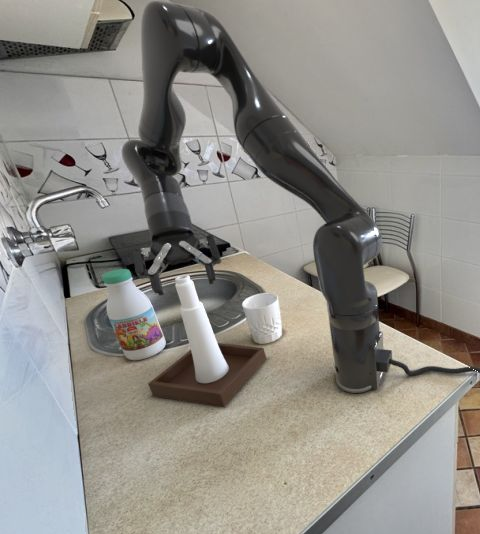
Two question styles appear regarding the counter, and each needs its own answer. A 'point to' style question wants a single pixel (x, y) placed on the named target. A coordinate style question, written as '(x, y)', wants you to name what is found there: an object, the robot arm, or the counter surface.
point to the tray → (215, 393)
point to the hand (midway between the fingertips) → (187, 288)
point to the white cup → (263, 317)
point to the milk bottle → (132, 316)
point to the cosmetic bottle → (200, 334)
